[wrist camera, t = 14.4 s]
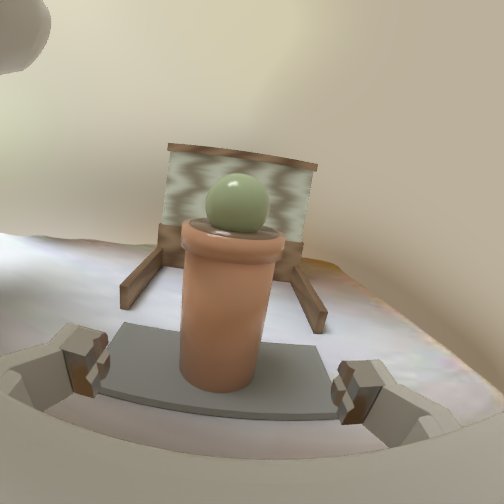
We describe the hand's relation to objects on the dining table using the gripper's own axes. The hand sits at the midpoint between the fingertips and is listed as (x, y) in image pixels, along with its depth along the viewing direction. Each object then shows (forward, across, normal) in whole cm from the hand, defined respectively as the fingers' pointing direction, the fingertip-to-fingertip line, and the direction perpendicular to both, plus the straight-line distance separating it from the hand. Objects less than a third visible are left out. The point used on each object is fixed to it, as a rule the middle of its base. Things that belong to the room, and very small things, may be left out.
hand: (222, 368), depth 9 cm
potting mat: (+12, 0, +10) cm, 16 cm away
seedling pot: (+12, 0, +10) cm, 15 cm away
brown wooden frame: (+30, 0, +10) cm, 32 cm away
